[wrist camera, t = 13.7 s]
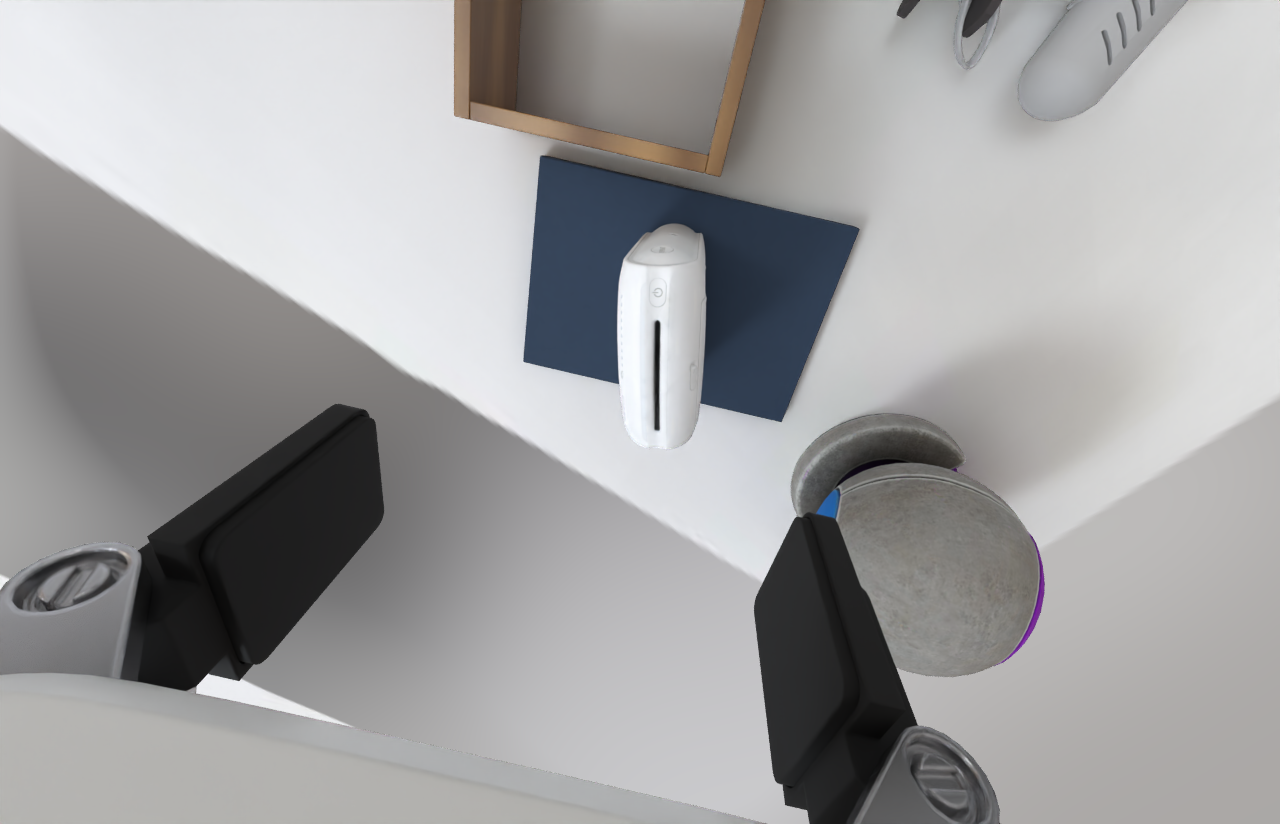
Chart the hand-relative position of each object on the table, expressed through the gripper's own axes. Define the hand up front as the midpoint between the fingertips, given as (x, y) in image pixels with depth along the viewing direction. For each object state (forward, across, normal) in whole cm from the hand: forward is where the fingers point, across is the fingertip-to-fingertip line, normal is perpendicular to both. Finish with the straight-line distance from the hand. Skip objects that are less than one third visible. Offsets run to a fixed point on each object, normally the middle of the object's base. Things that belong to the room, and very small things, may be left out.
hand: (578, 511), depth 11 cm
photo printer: (+24, -1, +2) cm, 24 cm away
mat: (+25, -2, +2) cm, 25 cm away
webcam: (+25, -20, +13) cm, 35 cm away
